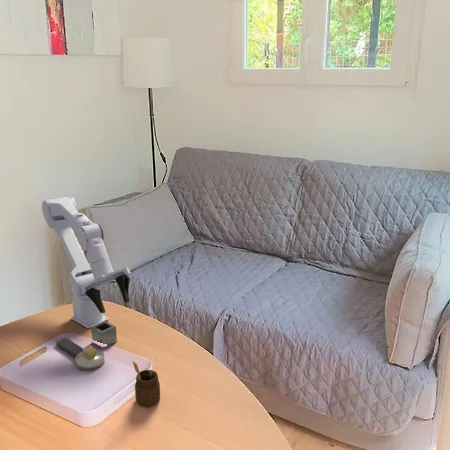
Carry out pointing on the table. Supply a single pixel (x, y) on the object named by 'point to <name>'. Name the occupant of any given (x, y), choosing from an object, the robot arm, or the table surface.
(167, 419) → the table surface
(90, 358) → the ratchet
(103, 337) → the hollow square tube
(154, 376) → the utensil holder
